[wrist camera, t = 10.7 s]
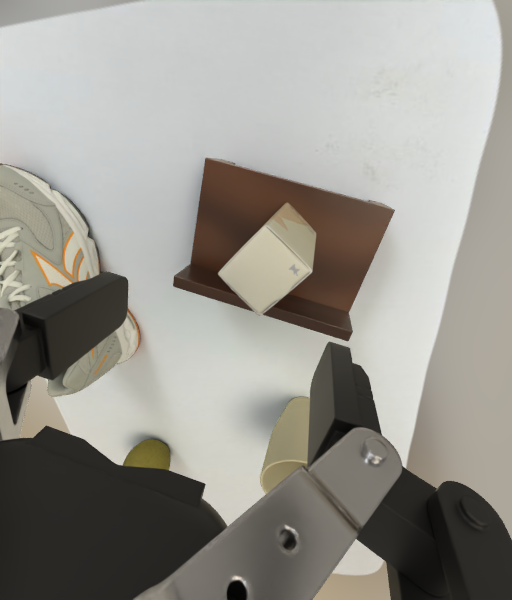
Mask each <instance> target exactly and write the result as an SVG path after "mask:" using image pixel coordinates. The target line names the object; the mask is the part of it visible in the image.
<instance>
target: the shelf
mask: <svg viewBox="0 0 512 600" xmlns="http://www.w3.org/2000/svg"><path fill="white" fill-rule="evenodd" d="M285 203H289V204H290V205H291V206H292V207H293V208H294V209H295V210H296V211H297V212H298V213H299V214H300V215H301V216H302V217H303V218H304V220H305V221H306V222H307V223H308V224H309V225H310V226H311V227H312V229H313V230H314V231H315V232H316V242H315V252H314V261H313V270H312V273H311V274H310V275H309V276H307V277H306V278H305V279H304V280H303V281H302V282H301V283H299V284H298V285H297V286H296V287H295V288H294V289H292V290H291V291H290V292H289V293H288V294H287V295H285V296H284V297H283V298H282V299H281V300H279V301H278V302H277V303H276V304H275V305H274V306H272V307H271V308H270V309H269V310H267V311H266V312H265V313H263V315H266V316H269V317H272V318H275V319H279V320H282V321H285V322H288V323H291V324H295V325H298V326H301V327H304V328H307V329H310V330H314V331H317V332H320V333H323V334H326V335H330V336H333V337H336V338H339V339H342V340H345V341H349V339H350V336H351V334H352V332H353V330H352V326H351V321H350V316H349V311H350V309H351V307H352V304H353V302H354V300H355V298H356V296H357V293H358V291H359V289H360V287H361V284H362V282H363V280H364V278H365V276H366V273H367V271H368V269H369V267H370V264H371V262H372V260H373V258H374V256H375V253H376V251H377V249H378V247H379V244H380V242H381V240H382V238H383V236H384V233H385V231H386V229H387V227H388V224H389V222H390V220H391V218H392V216H393V213H394V211H395V210H394V209H392V208H390V207H388V206H386V205H384V204H382V203H378V202H375V201H371V200H369V201H364V200H360V199H357V198H353V197H349V196H346V195H342V194H339V193H335V192H331V191H328V190H324V189H320V188H317V187H313V186H310V185H306V184H302V183H299V182H295V181H291V180H288V179H284V178H280V177H277V176H273V175H270V174H266V173H262V172H259V171H255V170H251V169H248V168H244V167H241V166H237V165H235V163H233V162H229V161H226V160H222V159H212V158H206V159H205V166H204V173H203V180H202V187H201V194H200V201H199V208H198V215H197V222H196V229H195V236H194V243H193V250H192V257H191V264H190V265H189V266H187V267H186V268H185V269H183V270H182V271H180V272H179V273H178V274H176V275H175V276H174V283H173V286H174V287H177V288H180V289H183V290H186V291H190V292H193V293H196V294H199V295H202V296H205V297H209V298H212V299H215V300H218V301H221V302H225V303H228V304H231V305H234V306H237V307H240V308H244V309H247V310H250V311H253V310H252V309H251V308H250V307H249V306H248V305H247V304H246V303H245V302H244V301H243V300H242V299H241V298H240V297H239V296H238V295H237V294H236V293H235V292H234V291H233V290H232V289H231V288H230V287H229V286H228V285H227V284H226V283H225V282H224V281H223V279H222V278H221V277H220V276H219V275H218V273H219V271H220V270H221V269H222V268H223V267H224V266H225V265H226V264H227V263H228V261H229V260H230V259H231V258H232V257H233V256H234V255H235V254H236V253H237V252H238V251H239V250H240V249H241V248H242V247H243V246H244V245H245V244H246V243H247V242H248V241H249V240H250V239H251V238H252V237H253V236H254V235H255V234H256V233H257V232H258V231H259V230H260V229H261V227H262V226H263V225H264V224H265V223H266V222H267V221H268V220H269V219H270V218H271V217H272V216H273V215H274V214H275V213H276V212H277V211H278V210H279V209H280V208H281V207H282V206H283V205H284V204H285ZM253 312H254V311H253Z"/></svg>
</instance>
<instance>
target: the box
mask: <svg viewBox="0 0 512 600" xmlns="http://www.w3.org/2000/svg"><path fill="white" fill-rule="evenodd" d="M315 242H316V232H315V231H314V230H313V229H312V227H311V226H310V225H309V224H308V223H307V222H306V221H305V220H304V218H303V217H302V216H301V215H300V214H299V213H298V212H297V211H296V210H295V209H294V208H293V207H292V206H291V205H290V204H289V203H285V204H284V205H283V206H282V207H281V208H280V209H279V210H278V211H277V212H276V213H275V214H274V215H273V216H272V217H271V218H270V219H269V220H268V221H267V222H266V223H265V224H264V225H263V226H262V227H261V229H260V230H259V231H258V232H257V233H256V234H255V235H254V236H253V237H252V238H251V239H250V240H249V241H248V242H247V243H246V244H245V245H244V246H243V247H242V248H241V249H240V250H239V251H238V252H237V253H236V254H235V255H234V256H233V257H232V258H231V259H230V260H229V261H228V263H227V264H226V265H225V266H224V267H223V268H222V269H221V270H220V271H219V273H218V275H219V276H220V277H221V278H222V279H223V281H224V282H225V283H226V284H227V285H228V286H229V287H230V288H231V289H232V290H233V291H234V292H235V293H236V294H237V295H238V296H239V297H240V298H241V299H242V300H243V301H244V302H245V303H246V304H247V305H248V306H249V307H250V308H251V309H252V310H253V311H254V312H255V313H256V314H258V315H262V314H263V313H265V312H266V311H267V310H269V309H270V308H271V307H272V306H274V305H275V304H276V303H277V302H278V301H279V300H281V299H282V298H283V297H284V296H285V295H287V294H288V293H289V292H290V291H291V290H292V289H294V288H295V287H296V286H297V285H298V284H299V283H301V282H302V281H303V280H304V279H305V278H306V277H307V276H309V275H310V274H311V273H312V270H313V261H314V252H315Z"/></svg>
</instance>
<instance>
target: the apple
mask: <svg viewBox="0 0 512 600" xmlns="http://www.w3.org/2000/svg"><path fill="white" fill-rule="evenodd" d="M123 466H133V467H145V468H158V469H166V470H169V467H170V452H169V449H168V447H167V446H166V445H165V444H164V443H163V442H161V441H158V440H154V439H148V440H145V441H142V442H141V443H139V444H138V445H136V446H135V447H134V448H133V449H132V450H131V451H130V452H129V454H128V455H127V457H126V459H125V461H124V463H123Z"/></svg>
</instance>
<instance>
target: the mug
mask: <svg viewBox="0 0 512 600" xmlns="http://www.w3.org/2000/svg"><path fill="white" fill-rule="evenodd" d="M309 412H310V398H307V397H296V398H294V399H292V400H291V401H290V402H289V403H288V405H287V406H286V408H285V410H284V411H283V413H282V415H281V416H280V418H279V420H278V421H277V423H276V425H275V427H274V429H273V432H272V435H271V438H270V441H269V445H268V449H267V453H266V456H265V460H264V464H263V468H262V472H261V476H260V483H261V486H262V489H263V490H264V492H265V493H266V494H267V493H268V492H270V491H271V490H272V489H273V488H274V487H275V486H277V485H278V484H279V483H280V482H281V481H283V480H284V479H285V478H286V477H287V476H288V475H290V474H291V473H292V472H293V471H294V470H296V469H297V468H298V467H300V466H305V468H306V469H307V458H308V435H309Z"/></svg>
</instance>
